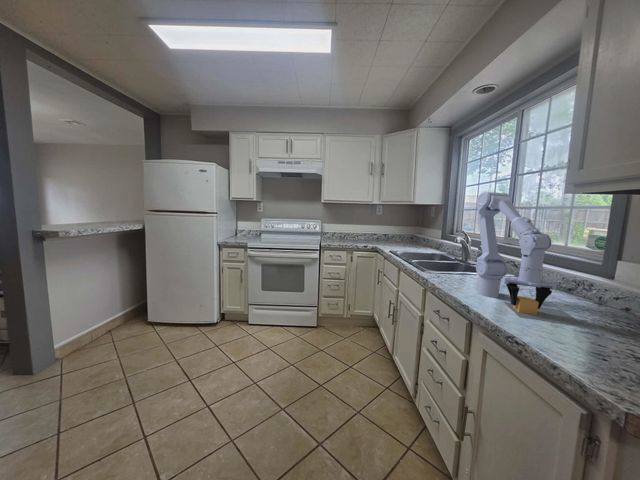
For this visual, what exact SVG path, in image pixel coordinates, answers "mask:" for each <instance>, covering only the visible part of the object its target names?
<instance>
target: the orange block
mask: <svg viewBox="0 0 640 480" xmlns="http://www.w3.org/2000/svg"><path fill="white" fill-rule="evenodd" d="M535 299H536V298H533V297H532V296H531V297H530V296H523V295H517V301H516V306H515V305H513V308H515V309H516V310H517V311H518V312H520V313H527V314H533V315H537V310H538V304H539V302H538V301H536V300H535Z"/></svg>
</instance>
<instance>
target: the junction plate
mask: <svg viewBox="0 0 640 480" xmlns="http://www.w3.org/2000/svg"><path fill="white" fill-rule="evenodd" d="M503 304H505V306H507V307H508V309H510V310H511V311H512V312H513V313H515V315H516V316H518V317H519V318H522V319H530V320H535V321H541V322H547V323H548V322H549V323H554V324H561V325H566V326H567V325H568V326H573V327H580V328H585V329H586V328H587V329H591V327H590V326H588V325H587V324H586V323H584V322H582V321H580V320H578V319H577V318H575V317H574V316H572V315H571V314H569V313H568V312H566V311H564V310H563V309H557V308H556V309H555V308H549V307H542V306H541V307H540V309H538V310H537V315H533V314H527V313H520V312H518V311H517V310H516V309H515V308H513V305H512V304H511V302H506V301H503Z"/></svg>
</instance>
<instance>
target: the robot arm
mask: <svg viewBox="0 0 640 480" xmlns="http://www.w3.org/2000/svg"><path fill="white" fill-rule="evenodd" d="M476 207H477V213H478V214H477V216H478V218H477V219H478V227H479V235H480V244H481V252H482V254H481V255H479V256H478V257H477V258H476V265H475V270H476V273H477V275H478V278H477V283H476V291H477V294H478V295H480V296H483V297H486V298H493V299H497V298H499V295H500V288H501V287H500V286H501V283H502V284H504V285H506V286H505V287H506V288H507V291H508V293H509V297H510V303H511V304H512V305H515V306H516V301H517V296H519V295H518V294H519V291H520V289H521V288H520V287H519V286H524V287H530V288H531V287H532V288H535V298H534V299H535V300H536V301H538V302H539V304H538V309H540V307H542V305H543V304H544V302H545V300H546V299H547V298H548V297H549V296H550V295H552V294H553V290H554V291H556V290H557V284H556V283H554V282H549V281H542V280H541V278H542V273H543V265H544V259H545V254H546V251H547V250H549V249H550V247H551V246H552V238H551V237H550V235H548V233H545V232H544V233H542V231H540V230H539V228H537V227H536V226H535V225H534V224H533V222H532V220H531V218H528V217H525V216H523V217H522V215H521V214H520V212H519V211H518V210H517V208H516V206H514V204H513V203H512V197H511V196H510V195H509V194H508V193H507V192H492V191H483V192H481V193H479V196H477V199H476ZM500 212H501V213H502V214H503V215H504V216H505V217H506V218H507V219H508V221H510V227H509V228H511V230H512V231H513V232H514V234H515V235H516V236H517V237H518V239H519V240H518V244H519V247H520V253H521V258H520V259H521V260H520V267H519V272H518V277H505V276H506V275H507V274H508V265H507V263H506V261H505V257H503V256H502V255H501V254H499V251H498V250H499V249H498V242H497V232H496V228H495V227H496V225H495V218H494V217H495V216H496V215H498V214H499V213H500ZM501 281H502V282H501Z"/></svg>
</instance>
